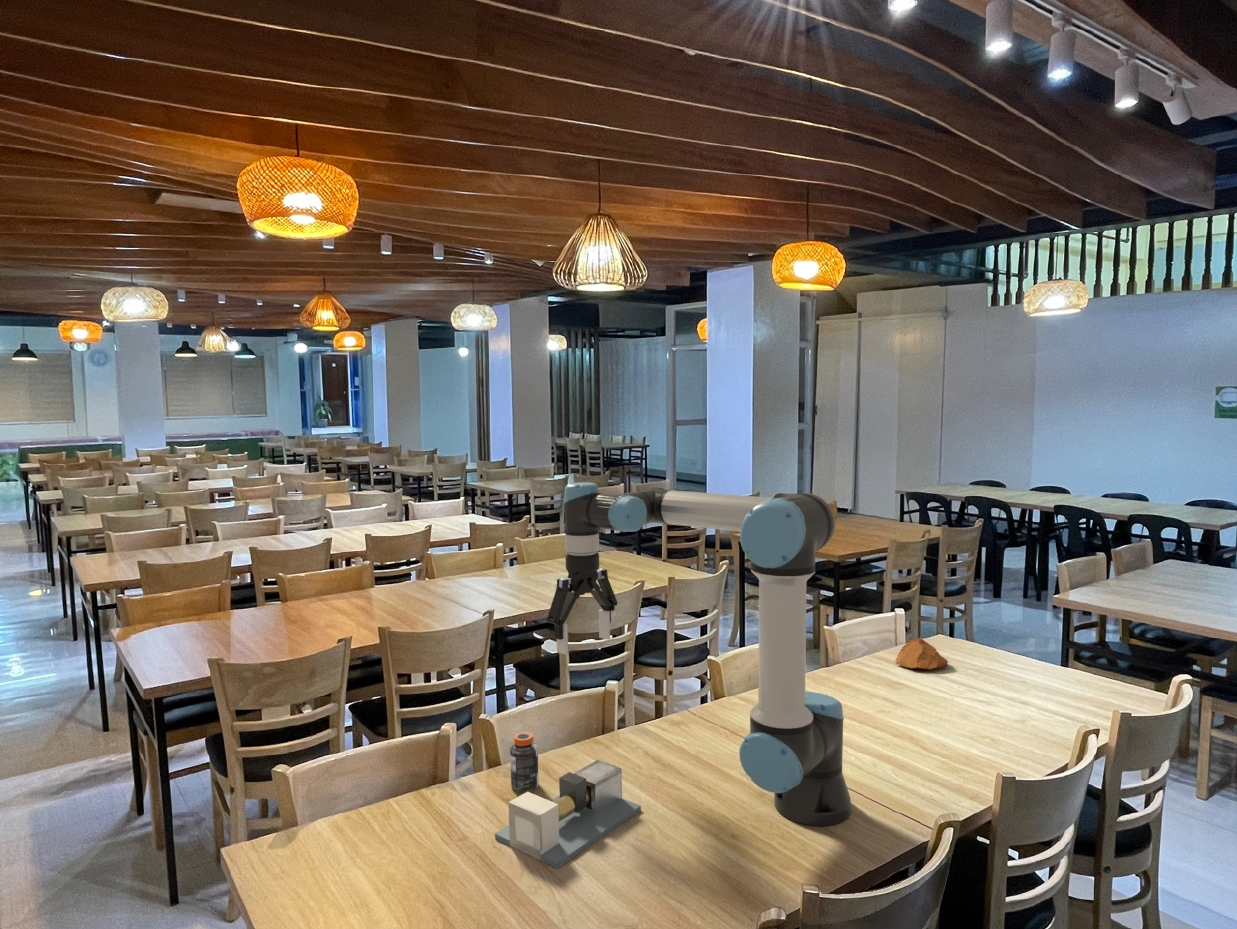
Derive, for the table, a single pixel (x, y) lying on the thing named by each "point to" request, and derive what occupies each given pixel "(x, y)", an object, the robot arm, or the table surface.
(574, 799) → the brass rod with grip
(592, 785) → the sleeve
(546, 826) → the socket
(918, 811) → the table surface
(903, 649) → the stone
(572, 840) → the board
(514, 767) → the pill bottle
